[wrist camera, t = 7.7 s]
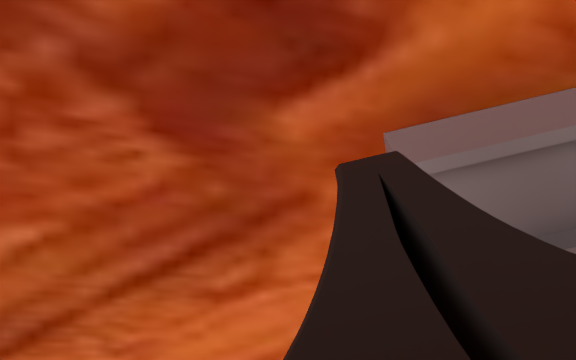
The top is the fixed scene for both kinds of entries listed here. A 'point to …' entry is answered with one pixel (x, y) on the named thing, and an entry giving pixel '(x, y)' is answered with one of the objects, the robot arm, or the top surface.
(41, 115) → the top surface
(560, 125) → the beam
